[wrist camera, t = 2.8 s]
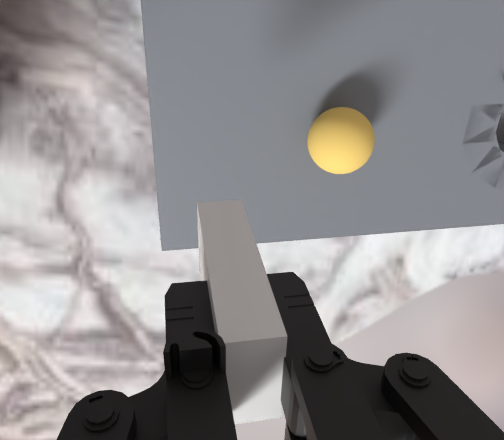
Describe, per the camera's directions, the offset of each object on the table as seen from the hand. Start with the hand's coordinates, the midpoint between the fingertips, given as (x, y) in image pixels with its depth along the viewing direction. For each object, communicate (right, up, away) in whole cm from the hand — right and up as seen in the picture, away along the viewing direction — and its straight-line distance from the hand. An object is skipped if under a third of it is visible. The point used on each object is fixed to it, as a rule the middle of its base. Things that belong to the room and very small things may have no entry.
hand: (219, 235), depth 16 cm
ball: (+6, +5, +8) cm, 11 cm away
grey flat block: (+9, +7, +12) cm, 17 cm away
